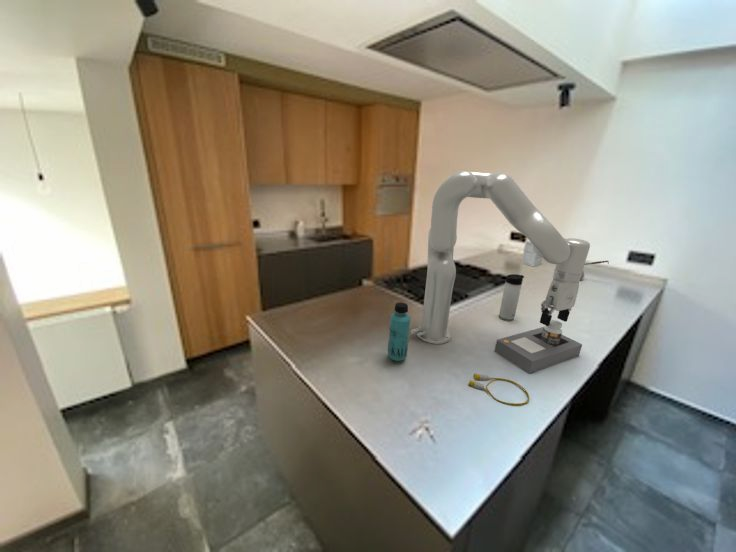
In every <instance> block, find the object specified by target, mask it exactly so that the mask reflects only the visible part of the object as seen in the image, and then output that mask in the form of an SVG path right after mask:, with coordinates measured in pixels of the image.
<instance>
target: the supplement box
mask: <svg viewBox="0 0 736 552" xmlns="http://www.w3.org/2000/svg"><path fill="white" fill-rule="evenodd" d="M523 247H524V248H523V253H522V258H521V263H520V264H523V265H526V266H530V267H538V266H541V264H542V260H543V258H541V257H540V256H538V255H537V254H536V253H535V252H534V250H533V244H532V242H531V241H530V240H529V239H527V240H525V243H524V246H523Z"/></svg>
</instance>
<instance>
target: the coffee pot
mask: <svg viewBox="0 0 736 552" xmlns="http://www.w3.org/2000/svg"><path fill="white" fill-rule="evenodd" d="M602 263H607V264H610V262H609V260H603V261H602V260H601V261H594V262H587V263H586V262H585V265H584V266H586V265H587V266H588V265H596V264H597V265H598V264H602ZM584 277H585V272H584V270H583V271H582V274H581V278H580V280H582V279H584Z"/></svg>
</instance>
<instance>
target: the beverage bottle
mask: <svg viewBox="0 0 736 552" xmlns="http://www.w3.org/2000/svg"><path fill="white" fill-rule="evenodd" d="M408 310H409V305H408V304H407V303H405V302H397V303H395V305H394V312H393V313H392V314H391V315H390V322H389V323H390V324H389V333H388V343H387V356H388V357H389V358H390V360H392V361H397V362H398V361H404V360H405V359H406V358H407V355H408V348H409V347H408V346H409V341H410V340H409V336H410V335H409V334H410V324H411V316H410V315H409V313H408V312H409V311H408Z"/></svg>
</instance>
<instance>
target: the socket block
mask: <svg viewBox="0 0 736 552" xmlns="http://www.w3.org/2000/svg"><path fill="white" fill-rule="evenodd" d="M543 328H544V326H543V327H542V326H541V327H537V328H535V329H531V330H528V331H523V332H519V333H516V334H513V335H508V336H506V337H502V338H497V339H496V341H495V346H494V352H496V353H497V354H499V355H500V356H502V357H503V358H505V359H506V360H508V361H509V362H511V363H512V364H514V365H516V366H517V367H518V368H520V369H522V370H523V371H525V372H526V373H528V374H532V373H535V372H538V371H540V370H543V369H546V368H549V367H551V366H554V365H557V364H560V363H563V362H565V361H567V360H570V359H573V358H576V357H578V356H580V355H581V354H580V353H581V350H582V347H583V343H580V342H578V341H576V340H574V339H572V338H571V337H567V336H565V335H564V334H561V338H560V341H559V344H558V346H556V347H553V346H551V345H549V344H548V343H546V342H544V341H542V340H540V339H541V335H542V331H543Z"/></svg>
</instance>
